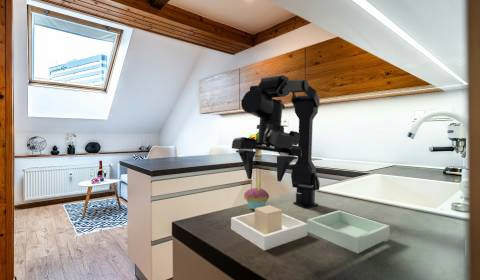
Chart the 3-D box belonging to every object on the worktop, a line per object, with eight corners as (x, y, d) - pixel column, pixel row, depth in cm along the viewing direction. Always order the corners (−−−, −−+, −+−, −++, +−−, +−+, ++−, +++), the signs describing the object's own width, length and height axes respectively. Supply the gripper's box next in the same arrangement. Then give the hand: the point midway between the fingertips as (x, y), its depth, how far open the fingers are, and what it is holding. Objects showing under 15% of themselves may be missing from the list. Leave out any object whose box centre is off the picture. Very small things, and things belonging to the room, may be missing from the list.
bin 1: (270, 220, 73) (270, 208, 73) (307, 237, 61) (307, 223, 61) (231, 230, 65) (231, 217, 65) (264, 252, 53) (264, 236, 53)
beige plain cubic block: (269, 226, 67) (269, 205, 66) (281, 233, 62) (282, 210, 62) (254, 230, 64) (254, 208, 64) (266, 237, 60) (267, 213, 59)
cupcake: (274, 209, 83) (274, 174, 83) (255, 215, 78) (256, 177, 77) (256, 203, 90) (256, 171, 89) (238, 208, 84) (239, 173, 84)
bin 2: (338, 222, 72) (339, 210, 72) (389, 240, 60) (389, 225, 60) (306, 233, 64) (306, 219, 64) (357, 256, 52) (357, 239, 52)
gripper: (255, 110, 54) (248, 181, 52) (318, 124, 62) (313, 186, 60) (234, 117, 64) (227, 176, 62) (290, 128, 72) (286, 181, 70)
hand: (264, 180), depth 64 cm, fingers open, 9 cm apart
